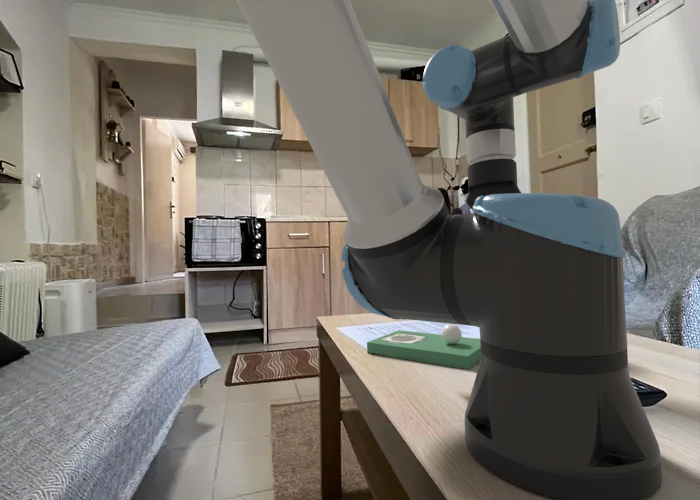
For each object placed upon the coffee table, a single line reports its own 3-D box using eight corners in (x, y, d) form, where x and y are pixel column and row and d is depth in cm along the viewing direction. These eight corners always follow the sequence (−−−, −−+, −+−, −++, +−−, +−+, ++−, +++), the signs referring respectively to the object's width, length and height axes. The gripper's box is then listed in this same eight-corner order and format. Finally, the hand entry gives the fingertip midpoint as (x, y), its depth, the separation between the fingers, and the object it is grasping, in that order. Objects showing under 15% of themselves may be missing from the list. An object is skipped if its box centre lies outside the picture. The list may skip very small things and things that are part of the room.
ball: (457, 347, 62) (456, 326, 62) (438, 345, 64) (437, 325, 64) (464, 343, 64) (464, 323, 64) (446, 340, 66) (445, 321, 66)
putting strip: (468, 369, 56) (468, 356, 56) (367, 352, 68) (366, 342, 68) (491, 351, 66) (490, 340, 66) (399, 339, 77) (398, 330, 77)
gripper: (539, 159, 59) (546, 304, 59) (460, 172, 67) (466, 300, 66) (529, 149, 53) (537, 312, 53) (444, 166, 61) (451, 307, 60)
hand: (498, 305), depth 60 cm, fingers closed
